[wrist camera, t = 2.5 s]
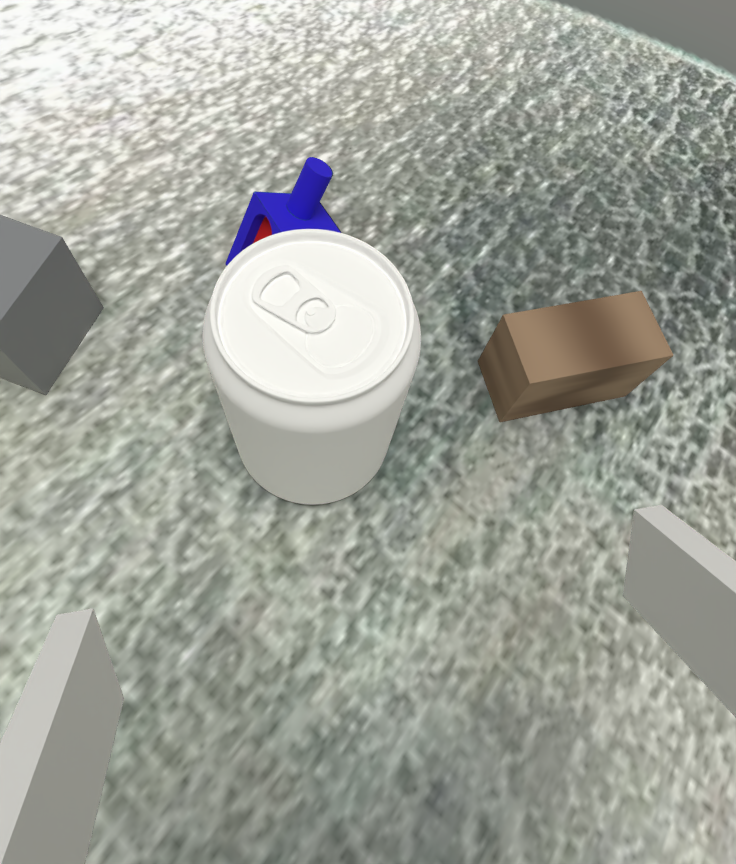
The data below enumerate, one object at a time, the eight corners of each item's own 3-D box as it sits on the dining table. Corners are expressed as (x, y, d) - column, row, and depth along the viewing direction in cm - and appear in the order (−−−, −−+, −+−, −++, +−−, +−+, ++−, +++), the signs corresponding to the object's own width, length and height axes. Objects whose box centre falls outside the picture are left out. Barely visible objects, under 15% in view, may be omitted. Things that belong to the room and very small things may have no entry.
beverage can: (325, 539, 29) (332, 464, 18) (205, 445, 30) (143, 321, 19) (416, 425, 32) (471, 298, 21) (303, 343, 33) (298, 183, 22)
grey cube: (-54, 357, 31) (-135, 291, 25) (9, 273, 33) (-51, 196, 28) (46, 395, 31) (-12, 337, 25) (104, 308, 33) (62, 237, 27)
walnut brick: (499, 423, 32) (530, 383, 28) (477, 362, 34) (503, 314, 29) (624, 397, 34) (673, 355, 29) (598, 339, 35) (641, 291, 31)
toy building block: (309, 302, 36) (368, 197, 30) (252, 308, 33) (306, 194, 28) (282, 261, 37) (335, 152, 31) (224, 264, 34) (271, 144, 29)
